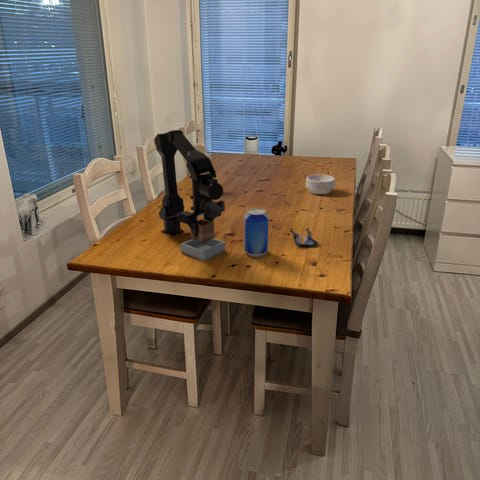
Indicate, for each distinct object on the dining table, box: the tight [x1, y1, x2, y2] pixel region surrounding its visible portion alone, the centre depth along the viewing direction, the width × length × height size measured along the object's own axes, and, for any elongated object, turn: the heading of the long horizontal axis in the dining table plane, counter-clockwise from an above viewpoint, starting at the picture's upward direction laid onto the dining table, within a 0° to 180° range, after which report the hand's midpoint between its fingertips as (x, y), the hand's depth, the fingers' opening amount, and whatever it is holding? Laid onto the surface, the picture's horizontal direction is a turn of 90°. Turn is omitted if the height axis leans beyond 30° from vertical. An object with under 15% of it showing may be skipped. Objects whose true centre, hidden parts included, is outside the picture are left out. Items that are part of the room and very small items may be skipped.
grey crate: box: [180, 237, 226, 262], centre depth 159 cm, size 11×11×4 cm
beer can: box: [244, 207, 269, 258], centre depth 155 cm, size 8×8×16 cm
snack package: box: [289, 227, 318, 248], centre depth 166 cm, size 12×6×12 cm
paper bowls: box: [305, 174, 336, 195], centre depth 229 cm, size 15×15×8 cm
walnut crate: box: [190, 218, 215, 243], centre depth 156 cm, size 6×6×6 cm
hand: (202, 234), depth 157 cm, fingers closed on walnut crate, 6 cm apart
